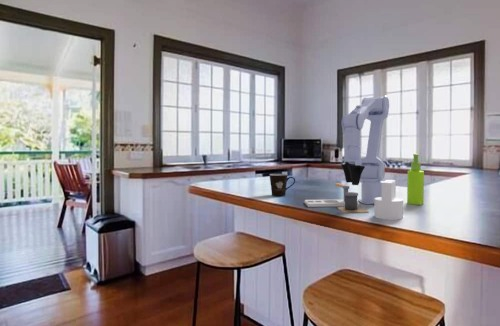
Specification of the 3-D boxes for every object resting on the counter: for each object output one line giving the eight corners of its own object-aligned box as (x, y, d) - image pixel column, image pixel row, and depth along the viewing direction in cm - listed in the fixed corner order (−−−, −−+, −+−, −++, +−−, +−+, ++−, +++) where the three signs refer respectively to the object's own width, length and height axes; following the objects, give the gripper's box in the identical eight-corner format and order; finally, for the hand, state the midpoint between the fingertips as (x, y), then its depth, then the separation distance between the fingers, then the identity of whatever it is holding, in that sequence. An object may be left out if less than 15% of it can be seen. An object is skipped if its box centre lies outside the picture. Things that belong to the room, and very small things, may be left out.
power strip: (352, 202, 141) (352, 187, 140) (359, 206, 132) (359, 190, 131) (304, 202, 141) (304, 188, 140) (308, 206, 132) (308, 191, 131)
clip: (350, 188, 135) (350, 186, 135) (344, 189, 134) (344, 186, 134) (339, 184, 147) (339, 182, 147) (333, 185, 147) (333, 182, 147)
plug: (356, 207, 127) (356, 192, 127) (359, 210, 122) (359, 194, 122) (342, 207, 127) (342, 192, 127) (345, 210, 122) (345, 194, 122)
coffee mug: (267, 196, 159) (266, 175, 158) (272, 193, 167) (272, 173, 166) (291, 197, 154) (290, 175, 154) (295, 194, 162) (295, 174, 162)
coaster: (360, 207, 129) (360, 206, 129) (368, 212, 120) (368, 211, 120) (336, 208, 129) (336, 207, 129) (343, 213, 120) (343, 211, 120)
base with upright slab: (400, 221, 107) (401, 183, 106) (371, 217, 112) (371, 182, 111) (404, 215, 115) (405, 180, 114) (377, 212, 119) (377, 179, 119)
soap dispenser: (422, 202, 138) (423, 153, 137) (423, 205, 132) (424, 154, 130) (407, 201, 140) (407, 153, 139) (407, 204, 134) (407, 154, 133)
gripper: (336, 146, 130) (336, 181, 131) (346, 147, 116) (346, 186, 116) (354, 146, 130) (354, 181, 131) (367, 146, 115) (367, 186, 116)
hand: (352, 183), depth 124 cm, fingers open, 7 cm apart
